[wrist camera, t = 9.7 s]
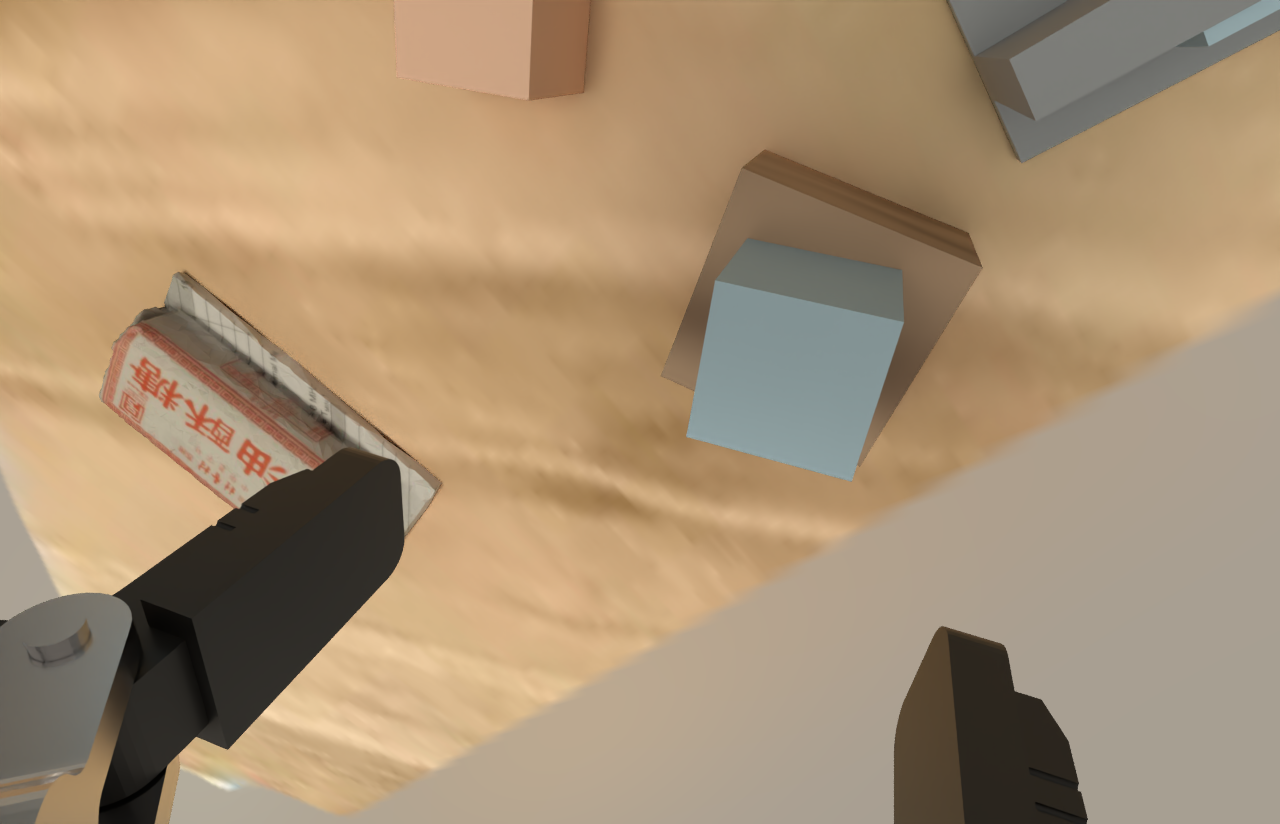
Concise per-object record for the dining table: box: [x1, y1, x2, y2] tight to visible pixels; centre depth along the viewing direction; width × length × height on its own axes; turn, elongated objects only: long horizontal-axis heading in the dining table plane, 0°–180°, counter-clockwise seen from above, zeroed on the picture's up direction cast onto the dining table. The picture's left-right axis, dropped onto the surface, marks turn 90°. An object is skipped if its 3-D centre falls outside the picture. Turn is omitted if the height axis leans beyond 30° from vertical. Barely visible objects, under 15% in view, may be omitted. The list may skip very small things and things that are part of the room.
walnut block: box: [661, 150, 982, 466], centre depth 26 cm, size 8×8×5 cm
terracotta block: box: [394, 0, 591, 100], centre depth 25 cm, size 5×5×5 cm
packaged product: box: [99, 272, 441, 537], centre depth 40 cm, size 18×5×10 cm
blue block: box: [686, 238, 904, 482], centre depth 22 cm, size 5×5×5 cm
